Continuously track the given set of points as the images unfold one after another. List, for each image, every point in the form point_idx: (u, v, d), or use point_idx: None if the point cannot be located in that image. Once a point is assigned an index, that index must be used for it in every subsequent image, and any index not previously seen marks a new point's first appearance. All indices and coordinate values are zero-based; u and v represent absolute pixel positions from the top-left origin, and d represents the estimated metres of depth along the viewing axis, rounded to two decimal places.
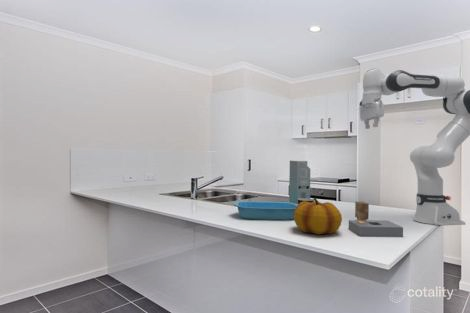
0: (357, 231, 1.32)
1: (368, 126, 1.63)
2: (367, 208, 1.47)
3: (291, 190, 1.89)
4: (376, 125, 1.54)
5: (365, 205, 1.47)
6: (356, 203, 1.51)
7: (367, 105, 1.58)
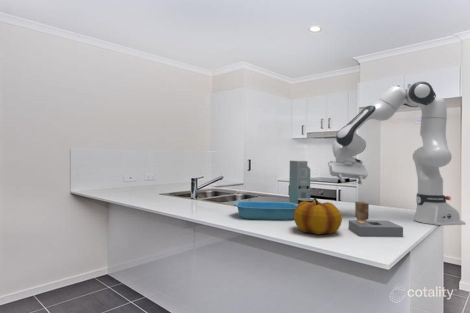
0: (357, 231, 1.32)
1: (358, 181, 1.62)
2: (367, 208, 1.47)
3: (291, 190, 1.89)
4: (341, 180, 1.60)
5: (365, 205, 1.47)
6: (356, 203, 1.51)
7: None
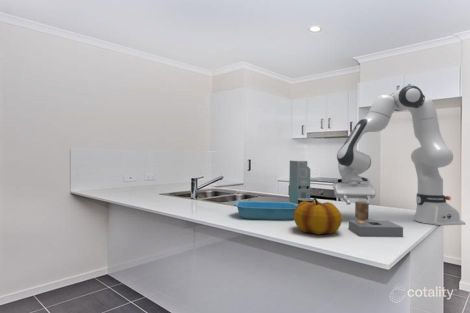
0: (357, 231, 1.32)
1: None
2: (367, 208, 1.47)
3: (291, 190, 1.89)
4: (347, 202, 1.54)
5: (365, 205, 1.47)
6: (356, 203, 1.51)
7: None
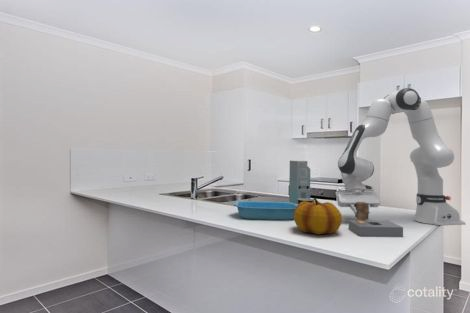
0: (357, 231, 1.32)
1: None
2: (367, 208, 1.47)
3: (291, 190, 1.89)
4: (354, 211, 1.49)
5: (365, 205, 1.47)
6: (356, 203, 1.51)
7: None
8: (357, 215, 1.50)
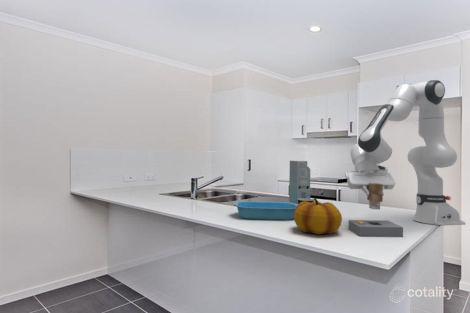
0: (357, 231, 1.32)
1: None
2: (381, 189, 1.33)
3: (291, 190, 1.89)
4: (367, 193, 1.35)
5: (379, 186, 1.33)
6: None
7: None
8: (370, 197, 1.36)
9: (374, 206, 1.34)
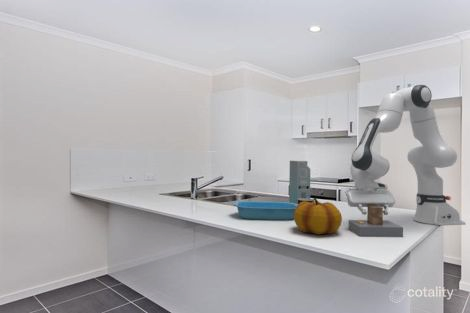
0: (357, 231, 1.32)
1: (383, 211, 1.35)
2: (381, 213, 1.32)
3: (291, 190, 1.89)
4: (362, 212, 1.35)
5: (379, 209, 1.32)
6: (368, 207, 1.37)
7: None
8: (370, 220, 1.36)
9: None
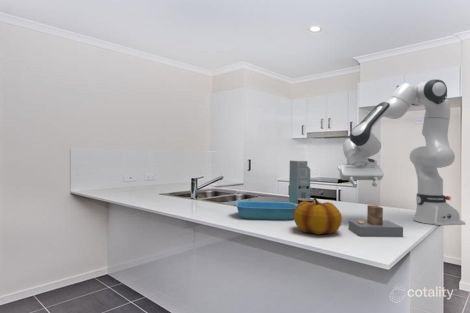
0: (357, 231, 1.32)
1: (373, 183, 1.47)
2: (381, 213, 1.32)
3: (291, 190, 1.89)
4: (353, 184, 1.46)
5: (379, 209, 1.32)
6: (368, 207, 1.37)
7: None
8: (370, 220, 1.36)
9: None
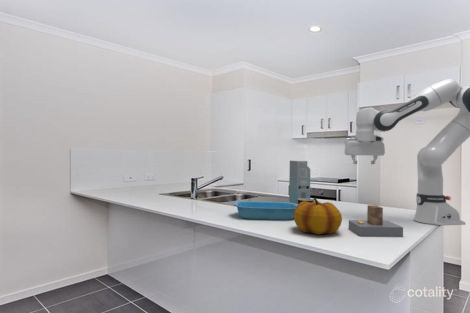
0: (357, 231, 1.32)
1: (371, 162, 1.64)
2: (381, 213, 1.32)
3: (291, 190, 1.89)
4: (354, 162, 1.64)
5: (379, 209, 1.32)
6: (368, 207, 1.37)
7: None
8: (370, 220, 1.36)
9: None
